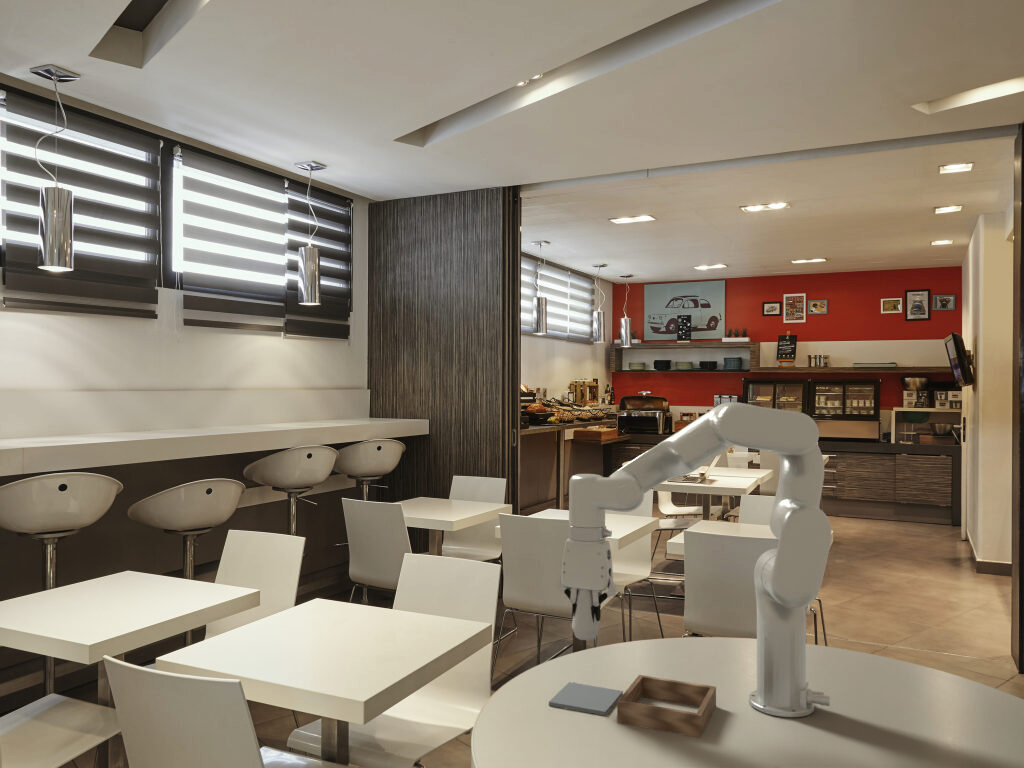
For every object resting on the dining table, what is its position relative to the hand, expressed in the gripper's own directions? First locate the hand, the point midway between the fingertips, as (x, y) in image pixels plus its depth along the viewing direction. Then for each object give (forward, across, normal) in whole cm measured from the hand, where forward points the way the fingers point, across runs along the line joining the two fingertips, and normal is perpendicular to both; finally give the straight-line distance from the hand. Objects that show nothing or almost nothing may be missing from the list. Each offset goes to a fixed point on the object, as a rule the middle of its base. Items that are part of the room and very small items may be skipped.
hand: (586, 621), depth 162 cm
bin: (+16, -17, 0) cm, 23 cm away
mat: (+16, 0, 0) cm, 16 cm away
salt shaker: (+3, 0, 0) cm, 3 cm away
